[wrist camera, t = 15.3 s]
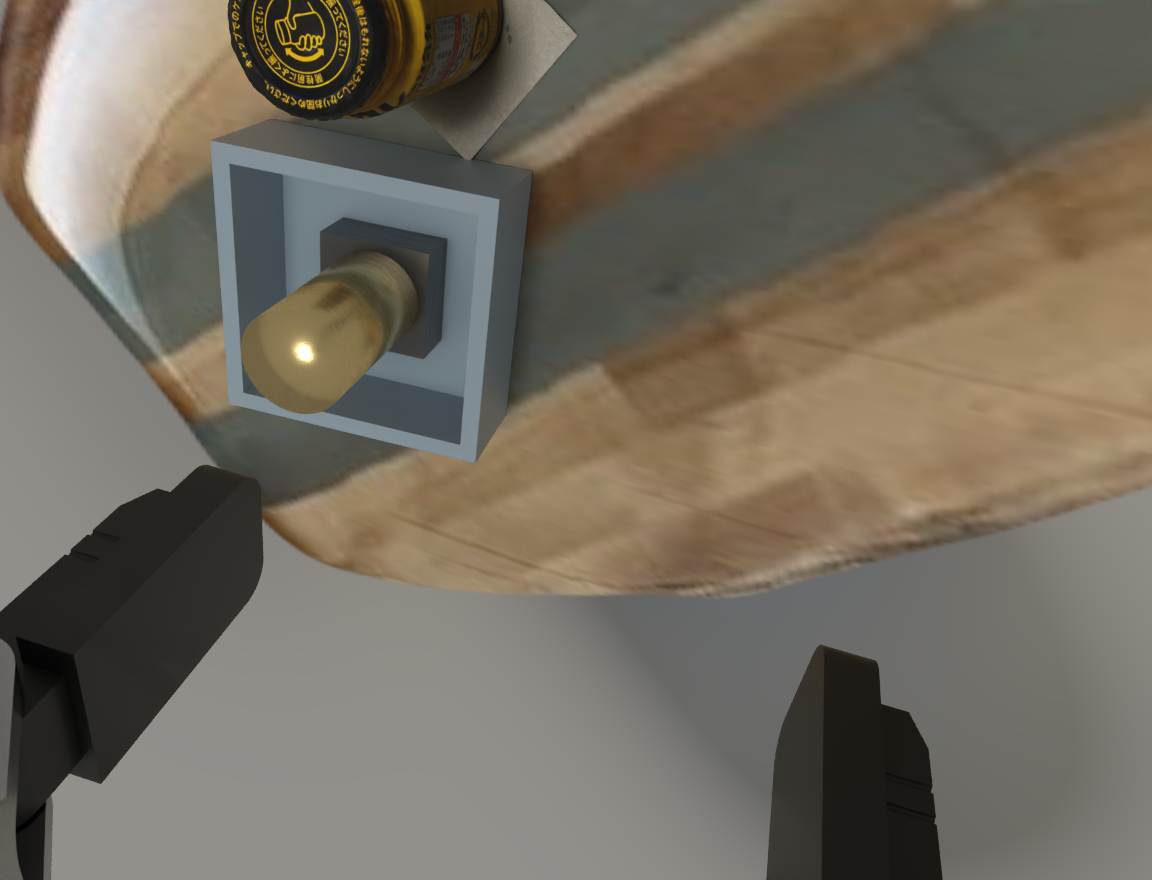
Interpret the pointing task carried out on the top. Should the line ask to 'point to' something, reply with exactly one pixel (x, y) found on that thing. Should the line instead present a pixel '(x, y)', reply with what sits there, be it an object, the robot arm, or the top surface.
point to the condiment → (399, 58)
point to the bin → (395, 199)
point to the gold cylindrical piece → (348, 315)
